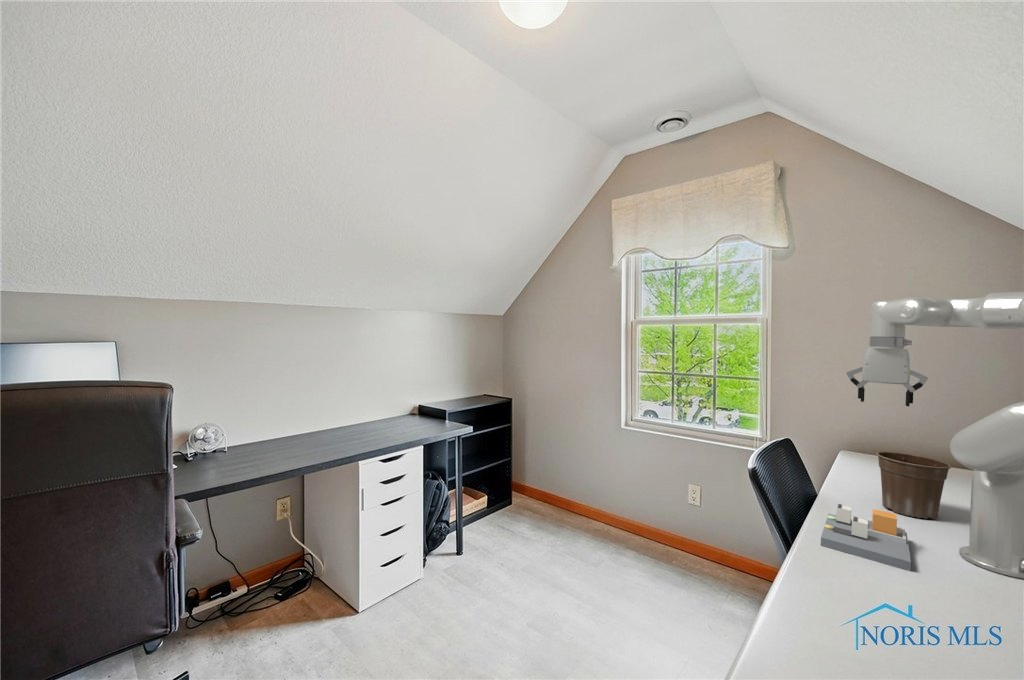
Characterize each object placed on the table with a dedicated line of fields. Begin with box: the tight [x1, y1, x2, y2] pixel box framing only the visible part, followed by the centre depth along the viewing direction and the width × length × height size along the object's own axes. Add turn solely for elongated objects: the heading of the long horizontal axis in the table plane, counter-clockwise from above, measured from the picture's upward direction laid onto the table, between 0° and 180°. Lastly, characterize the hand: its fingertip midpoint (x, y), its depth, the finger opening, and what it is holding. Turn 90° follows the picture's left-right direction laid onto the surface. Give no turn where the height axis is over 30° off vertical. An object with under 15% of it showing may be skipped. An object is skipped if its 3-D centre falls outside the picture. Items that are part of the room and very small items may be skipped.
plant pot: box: [876, 451, 952, 520], centre depth 126 cm, size 16×16×16 cm
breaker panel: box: [820, 513, 912, 572], centre depth 105 cm, size 20×16×3 cm
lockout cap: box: [871, 508, 898, 536], centre depth 106 cm, size 4×4×5 cm
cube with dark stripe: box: [851, 516, 868, 539], centre depth 104 cm, size 3×3×4 cm
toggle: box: [835, 503, 852, 524], centre depth 112 cm, size 3×3×4 cm
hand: (884, 403), depth 119 cm, fingers open, 9 cm apart
